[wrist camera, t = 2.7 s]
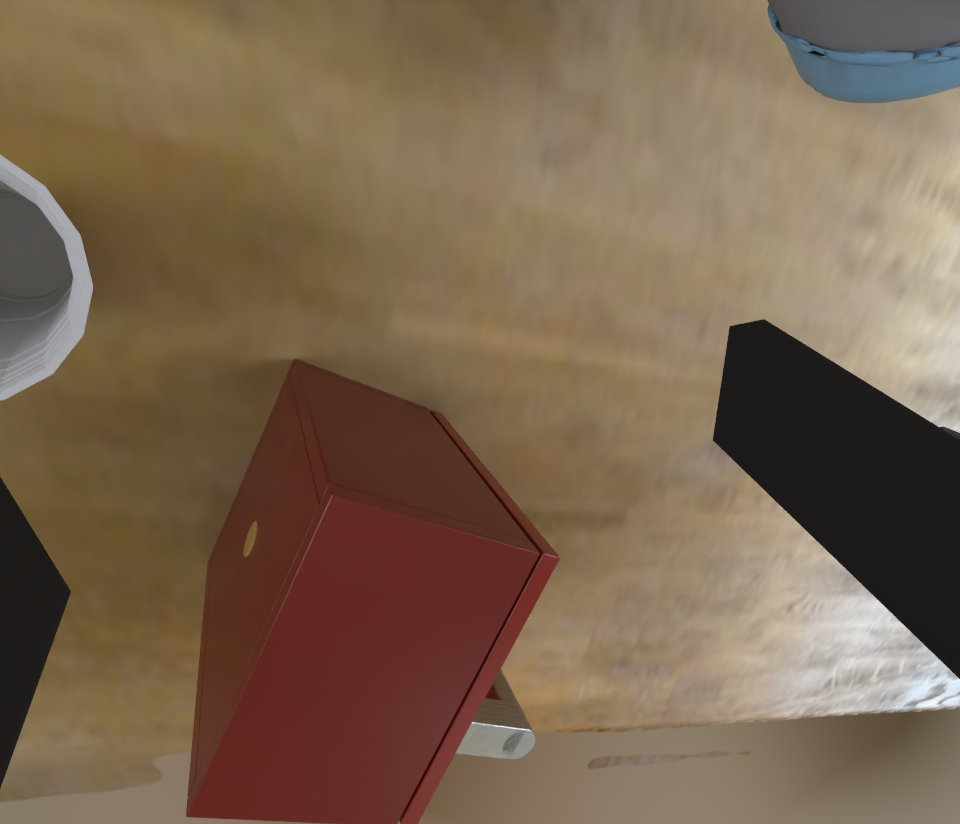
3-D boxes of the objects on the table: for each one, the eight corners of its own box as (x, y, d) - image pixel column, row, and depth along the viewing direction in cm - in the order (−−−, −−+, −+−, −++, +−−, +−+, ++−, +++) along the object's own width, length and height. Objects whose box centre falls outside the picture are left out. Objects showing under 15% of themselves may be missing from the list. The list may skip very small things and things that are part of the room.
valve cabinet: (427, 407, 46) (540, 553, 29) (340, 591, 49) (395, 827, 32) (293, 358, 42) (332, 494, 24) (207, 563, 45) (185, 817, 27)
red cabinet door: (521, 443, 50) (670, 588, 33) (435, 612, 53) (530, 830, 35) (430, 409, 46) (543, 552, 29) (343, 593, 49) (399, 824, 32)
